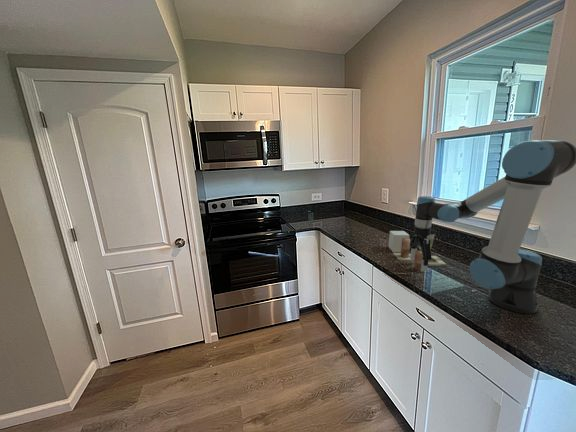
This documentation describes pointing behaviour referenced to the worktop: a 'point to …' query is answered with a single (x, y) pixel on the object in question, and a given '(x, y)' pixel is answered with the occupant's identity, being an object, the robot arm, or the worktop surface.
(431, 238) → the coffee cup
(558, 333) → the worktop surface
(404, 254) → the wooden post on base
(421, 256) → the peg
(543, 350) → the worktop surface
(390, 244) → the block
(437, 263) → the socket board
